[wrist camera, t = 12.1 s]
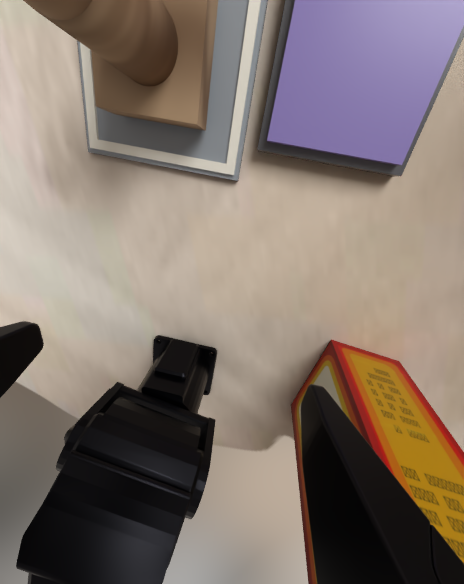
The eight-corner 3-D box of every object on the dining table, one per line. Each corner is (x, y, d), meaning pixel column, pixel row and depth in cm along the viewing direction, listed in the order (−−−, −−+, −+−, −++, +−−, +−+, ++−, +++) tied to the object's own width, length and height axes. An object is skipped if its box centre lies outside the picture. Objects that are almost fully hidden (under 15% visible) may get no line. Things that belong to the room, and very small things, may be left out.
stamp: (207, 132, 15) (118, 66, 6) (120, 116, 16) (-85, 32, 7) (220, -1, 13) (98, -455, 4) (114, -16, 13) (-251, -473, 4)
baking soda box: (347, 423, 26) (445, 727, 12) (291, 404, 26) (318, 686, 12) (399, 361, 21) (658, 727, 7) (331, 339, 21) (455, 661, 7)
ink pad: (393, 176, 15) (406, 176, 14) (258, 150, 16) (256, 148, 14) (483, -31, 11) (515, -61, 10) (297, -57, 12) (301, -90, 10)
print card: (238, 180, 17) (237, 180, 16) (91, 152, 17) (86, 151, 17) (277, -60, 12) (277, -71, 11) (69, -89, 12) (60, -101, 12)
